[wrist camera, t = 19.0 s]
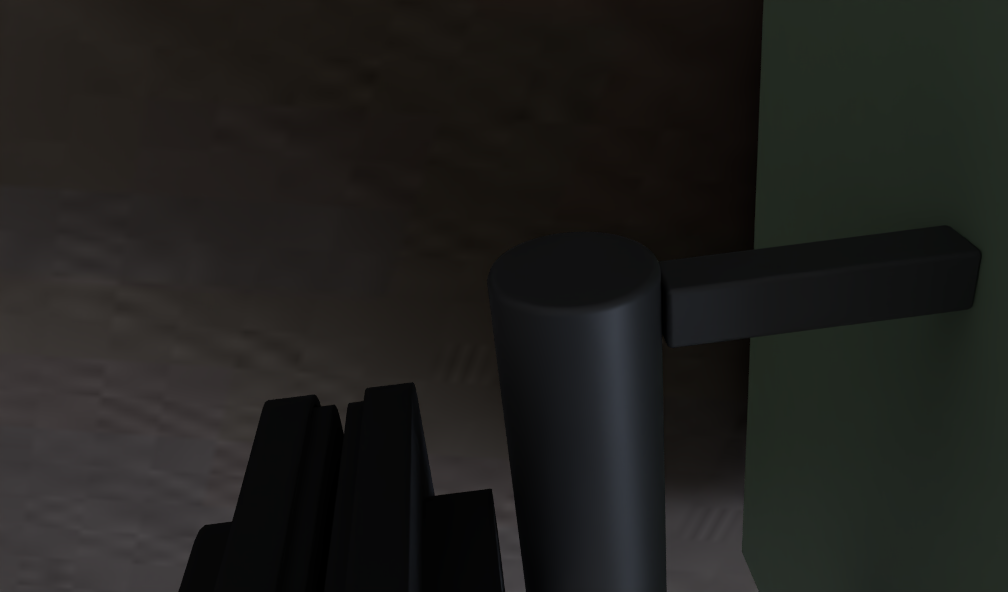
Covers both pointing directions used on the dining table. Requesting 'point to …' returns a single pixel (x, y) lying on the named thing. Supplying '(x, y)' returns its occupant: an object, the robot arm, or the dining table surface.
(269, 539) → the robot arm
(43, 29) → the dining table surface
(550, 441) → the drawer
